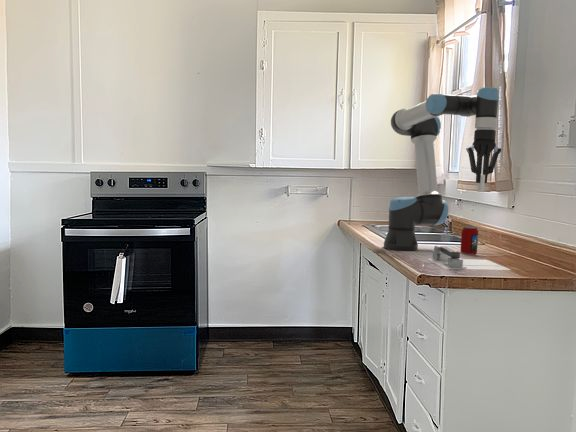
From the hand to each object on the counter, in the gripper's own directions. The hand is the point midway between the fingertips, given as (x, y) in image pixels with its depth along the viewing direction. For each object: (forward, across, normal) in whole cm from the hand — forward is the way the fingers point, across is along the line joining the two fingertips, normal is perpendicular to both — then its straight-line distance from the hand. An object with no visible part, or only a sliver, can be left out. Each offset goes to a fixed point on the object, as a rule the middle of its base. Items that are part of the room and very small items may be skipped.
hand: (480, 191), depth 193 cm
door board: (+28, +6, +8) cm, 30 cm away
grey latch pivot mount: (+27, +13, +14) cm, 33 cm away
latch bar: (+24, +13, +7) cm, 28 cm away
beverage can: (+28, -5, -21) cm, 36 cm away
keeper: (+27, +14, 0) cm, 30 cm away
